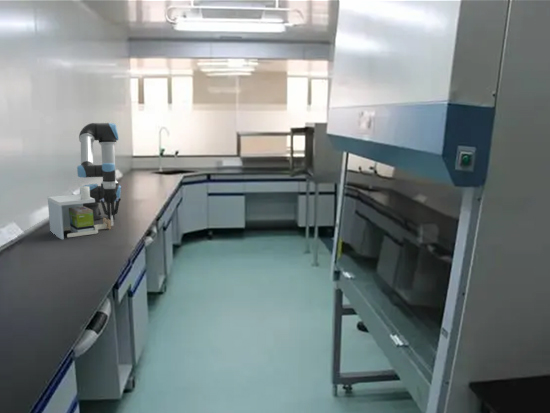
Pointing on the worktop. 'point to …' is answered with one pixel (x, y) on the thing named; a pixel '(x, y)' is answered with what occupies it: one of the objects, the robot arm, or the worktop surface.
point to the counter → (63, 211)
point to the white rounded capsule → (85, 192)
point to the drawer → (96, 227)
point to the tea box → (81, 219)
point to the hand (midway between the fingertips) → (111, 225)
